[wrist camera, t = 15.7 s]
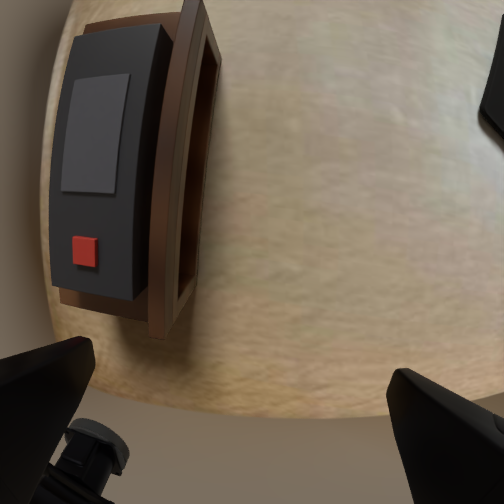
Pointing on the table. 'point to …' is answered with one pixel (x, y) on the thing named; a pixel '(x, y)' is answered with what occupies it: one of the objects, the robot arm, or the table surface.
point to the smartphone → (495, 88)
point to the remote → (107, 160)
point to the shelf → (172, 171)
